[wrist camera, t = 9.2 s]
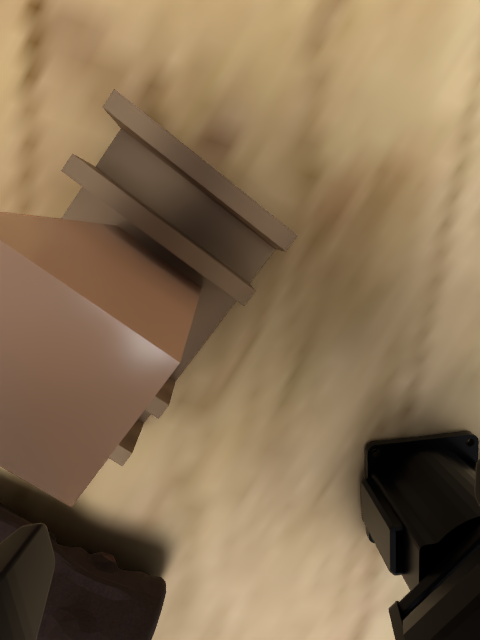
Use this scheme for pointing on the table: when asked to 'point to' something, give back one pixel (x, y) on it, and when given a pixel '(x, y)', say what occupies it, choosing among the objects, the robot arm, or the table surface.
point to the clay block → (81, 344)
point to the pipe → (93, 594)
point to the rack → (176, 225)
